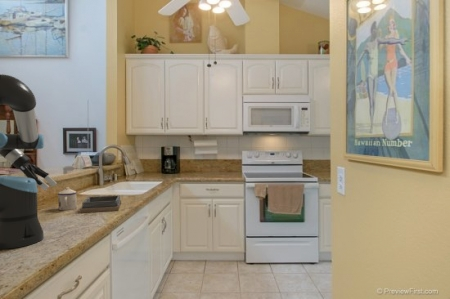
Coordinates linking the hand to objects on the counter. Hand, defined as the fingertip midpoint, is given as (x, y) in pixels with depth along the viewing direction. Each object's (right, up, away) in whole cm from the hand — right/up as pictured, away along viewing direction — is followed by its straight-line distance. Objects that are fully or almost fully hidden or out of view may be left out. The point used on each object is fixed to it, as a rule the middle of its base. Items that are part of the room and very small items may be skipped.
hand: (51, 186), depth 151 cm
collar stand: (+26, -12, +4) cm, 29 cm away
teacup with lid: (+8, -13, +1) cm, 15 cm away
